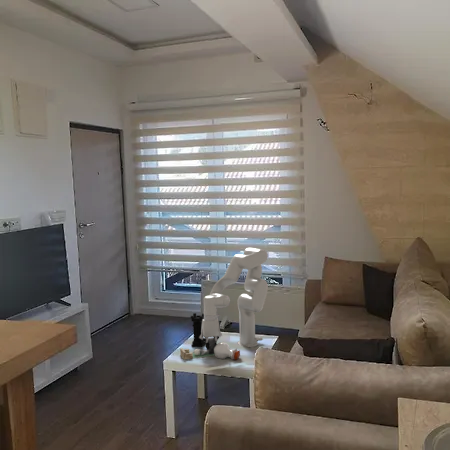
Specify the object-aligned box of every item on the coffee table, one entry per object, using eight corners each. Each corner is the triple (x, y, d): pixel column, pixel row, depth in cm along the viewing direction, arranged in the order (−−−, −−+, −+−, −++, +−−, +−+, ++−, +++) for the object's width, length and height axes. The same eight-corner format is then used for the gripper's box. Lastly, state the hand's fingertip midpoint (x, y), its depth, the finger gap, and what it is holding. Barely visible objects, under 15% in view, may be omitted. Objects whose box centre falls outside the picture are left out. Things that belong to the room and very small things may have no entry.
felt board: (219, 351, 280) (219, 349, 280) (223, 355, 273) (223, 353, 273) (180, 357, 272) (180, 355, 272) (183, 361, 265) (183, 359, 264)
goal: (188, 353, 274) (188, 347, 273) (192, 358, 266) (192, 351, 266) (180, 355, 272) (180, 348, 271) (184, 359, 264) (183, 352, 264)
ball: (199, 353, 273) (199, 347, 273) (201, 355, 270) (200, 349, 270) (193, 354, 272) (193, 348, 272) (195, 356, 269) (194, 350, 269)
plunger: (212, 350, 277) (212, 337, 276) (215, 353, 273) (215, 339, 272) (199, 352, 274) (198, 339, 273) (201, 355, 270) (201, 341, 269)
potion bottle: (214, 358, 272) (237, 366, 265) (208, 353, 264) (232, 361, 257) (220, 343, 276) (243, 350, 269) (214, 338, 268) (237, 344, 261)
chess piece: (203, 349, 284) (202, 316, 282) (190, 348, 286) (189, 316, 284) (206, 345, 292) (205, 313, 290) (194, 344, 293) (193, 312, 292)
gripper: (221, 314, 279) (222, 344, 280) (194, 317, 273) (195, 348, 274) (226, 317, 272) (226, 348, 273) (198, 320, 266) (199, 352, 267)
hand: (211, 347), depth 274 cm, fingers closed on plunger, 3 cm apart
